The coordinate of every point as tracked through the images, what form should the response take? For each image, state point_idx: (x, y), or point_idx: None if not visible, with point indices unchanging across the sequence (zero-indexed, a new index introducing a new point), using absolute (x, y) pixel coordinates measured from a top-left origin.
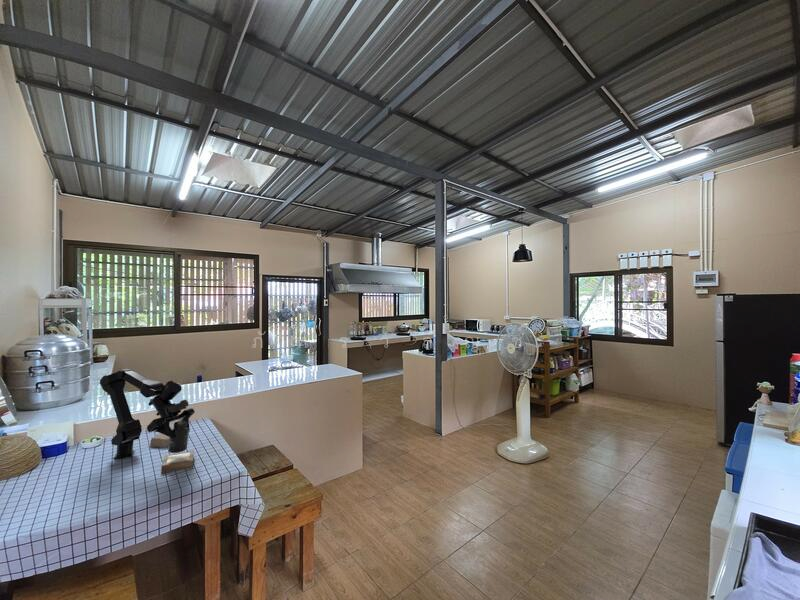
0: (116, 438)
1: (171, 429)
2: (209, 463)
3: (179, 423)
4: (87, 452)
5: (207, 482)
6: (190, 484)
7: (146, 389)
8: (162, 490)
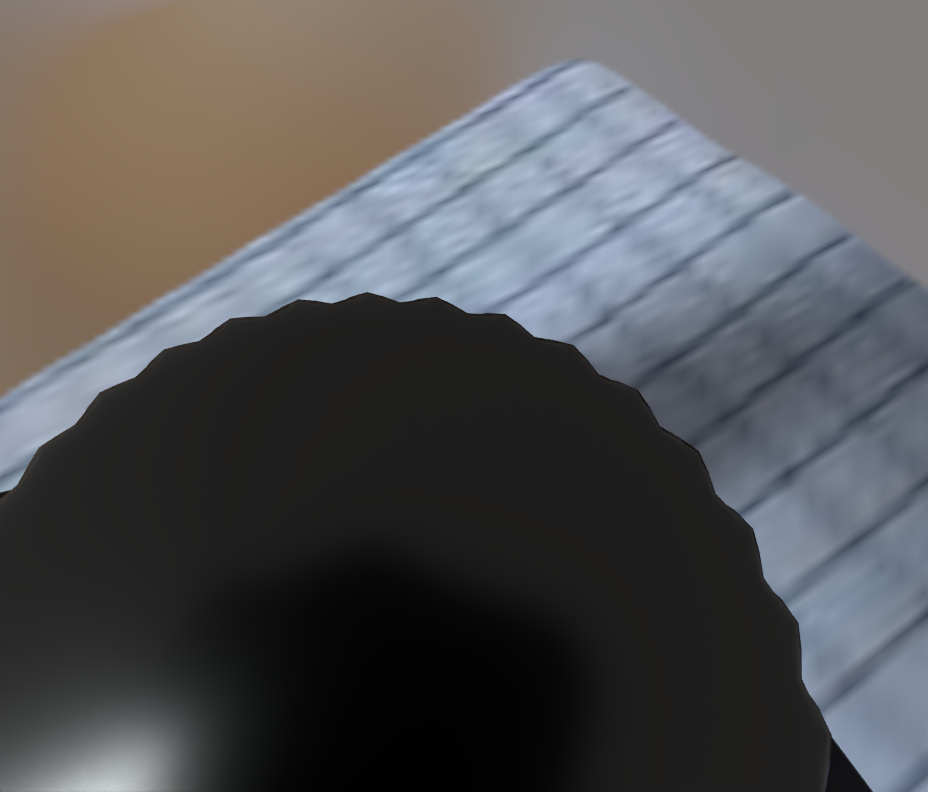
0: None
1: None
2: (446, 299)
3: (585, 669)
4: None
5: (757, 173)
6: (806, 267)
7: None
8: None
